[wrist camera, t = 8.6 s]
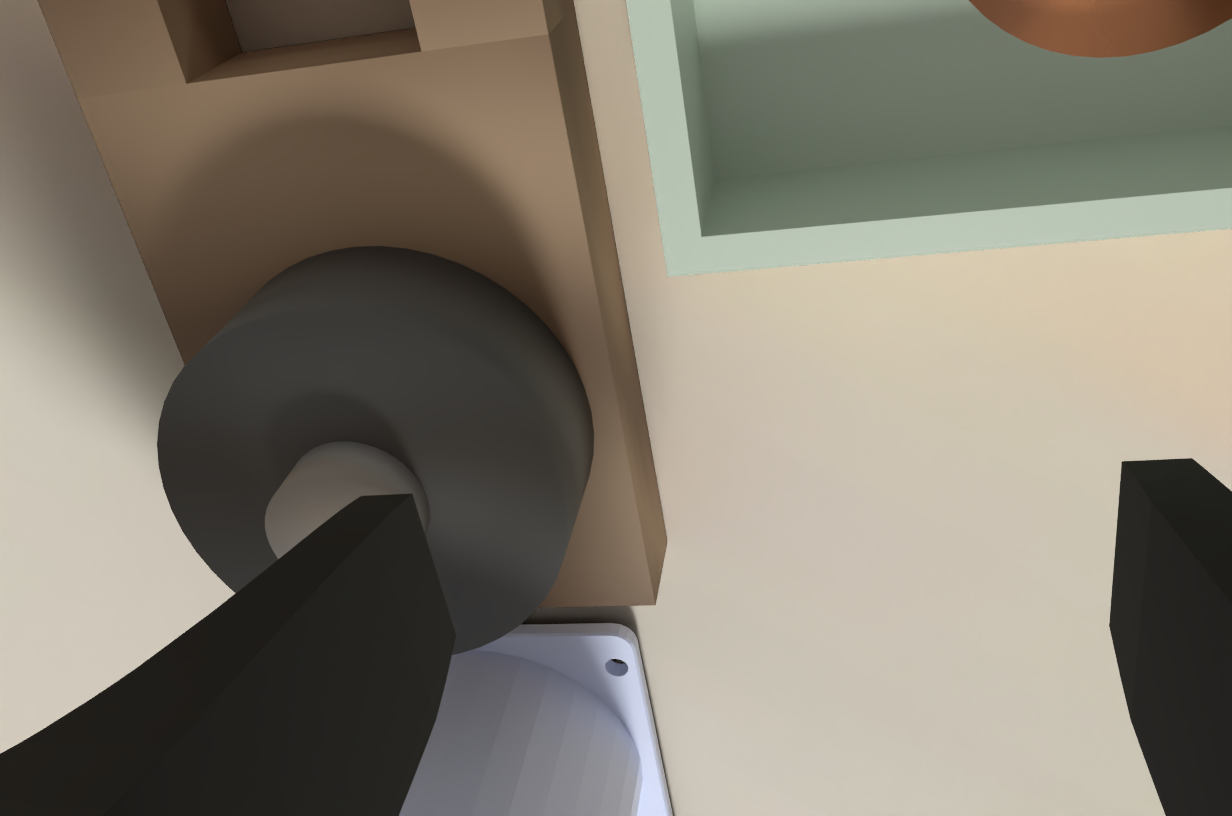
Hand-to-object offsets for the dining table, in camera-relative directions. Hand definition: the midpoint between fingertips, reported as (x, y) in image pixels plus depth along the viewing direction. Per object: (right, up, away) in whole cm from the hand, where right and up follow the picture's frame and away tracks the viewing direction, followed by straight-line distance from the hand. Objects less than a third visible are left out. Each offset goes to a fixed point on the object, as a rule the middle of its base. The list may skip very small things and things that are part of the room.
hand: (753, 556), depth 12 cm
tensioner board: (-6, +6, +8) cm, 12 cm away
